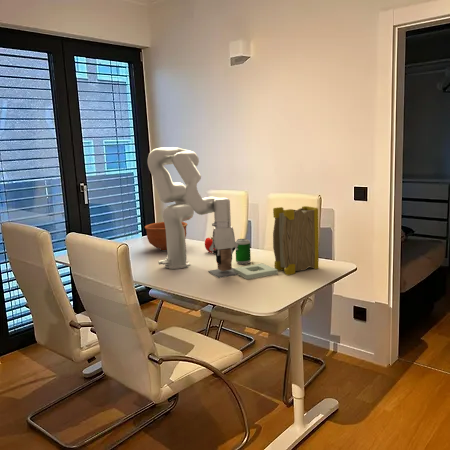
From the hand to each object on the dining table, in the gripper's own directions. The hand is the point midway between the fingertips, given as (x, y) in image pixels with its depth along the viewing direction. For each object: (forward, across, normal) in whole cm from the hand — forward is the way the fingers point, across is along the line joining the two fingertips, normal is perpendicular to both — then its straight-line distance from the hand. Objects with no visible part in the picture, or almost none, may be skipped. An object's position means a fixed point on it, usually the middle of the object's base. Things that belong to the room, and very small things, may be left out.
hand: (224, 262), depth 223 cm
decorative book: (+6, +31, -14) cm, 35 cm away
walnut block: (+3, 0, 0) cm, 3 cm away
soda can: (+6, +16, +12) cm, 21 cm away
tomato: (+6, +13, +42) cm, 44 cm away
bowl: (+6, -7, +65) cm, 65 cm away
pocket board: (+5, +12, -8) cm, 15 cm away
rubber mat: (+5, 0, 0) cm, 5 cm away
